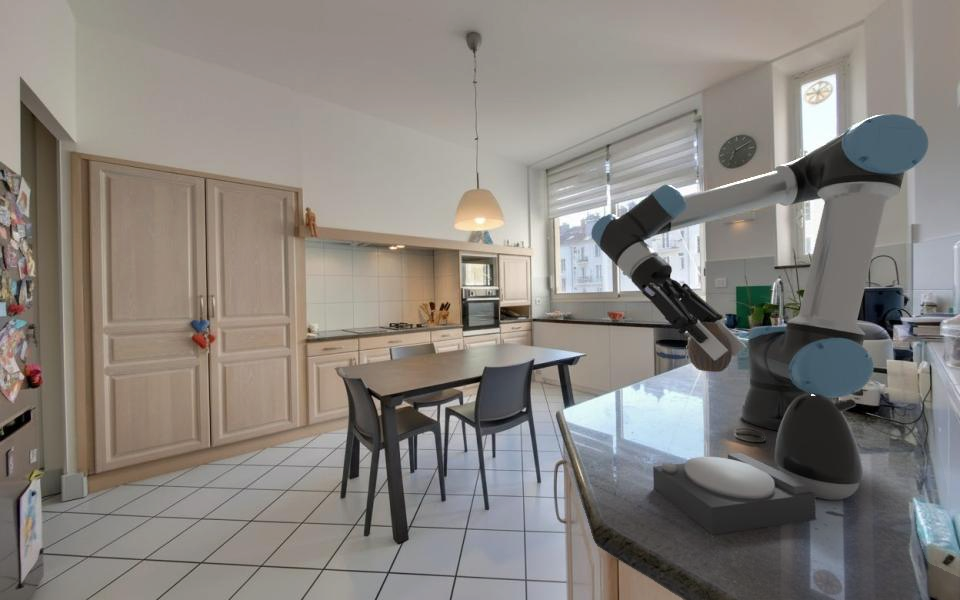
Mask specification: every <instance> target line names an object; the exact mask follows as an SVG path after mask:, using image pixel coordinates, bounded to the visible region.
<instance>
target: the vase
mask: <svg viewBox="0 0 960 600" xmlns="http://www.w3.org/2000/svg"><path fill="white" fill-rule="evenodd" d="M700 323H701V322H700ZM701 324H702V325H703V326H704V327H705V328H706V329H707V330H708V331H709V332H710V333H711V334H712V335H713V336H714V337H715V338H716V339H717V340H718V341H720V342H721V343H722V344H723V345H724V346H725V347H726V348H727V349H728V351H727V352H726V353H725V354H723V355H722V356H721V357H720V358H718V359H717V360H715V361H714V360H713V359H712V358H711V357H710V356H709V355H708V353H707V352H706V351H705V350H704V349H703V348H702V347H701V346H700V345H699V344H698V343H697V342H696V341H695V340H694V339H693V338H692V337H691V336H690V338H689V341H688V343H687V344H688V346H687V355H688V357H689V361H690V363H691V364H692V365H693V367H695V369H697V370H698V371H703V372H710V373H711V372H712V373H716V372H717V373H718V372H723V371H724V370H725V369H727V368H728V367H729V365H730V363H731V361H732V357H733V355H732V348H731V344H730V341H729V339H728V338H727V336H726V335H725V334H724V333H723V332H722V331H721V329H720V328H719V327H718V325H717V323H715V322H702V323H701Z"/></svg>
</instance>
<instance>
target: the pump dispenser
mask: <svg viewBox="0 0 960 600" xmlns="http://www.w3.org/2000/svg"><path fill="white" fill-rule="evenodd" d="M856 406H857V403H856V401H855V400H854V399H850V398H849V399H846V400H841V401H837V402H834V401H833V400H832V399H830V397H825V396H823V395H820V394H816V393H806V394H802V395H800V396H798V397H796V398H795V399H794V400H793V401H792V403H791V404H790V405H789V407H788V408H787V410H786V412H785V414H784V416H783V419H782V421H781V424H780V427H779V430H778V431H777V434H776V438H775V439H776V440H775V446H774V454H773V455H774V462H775V464H776V465H777V467H778V471H781V472H783V473H785V474H787V475H789V476H791V477H793V478H796V479H798V480H800V481H802V482H804V483H806V484H808V485H809V491H810V492H812V493H814V494H815V498H817V499H822V500H829V501H830V500H843V499H847V498H849V497H851V496H852V495H853V494H854V493H856V492H857V490H858V489H859V486H860V483H861V482H863V479H864V468H863V464H862V463H863V462H862V459H861V454H860V453H861V452H860V449H859V447H858V444H857V441H856V438H855V435H854V433H853V430H852V428H851V426H850V424H849V422H848V420H847V418H846V416H845V415H844V414H843V412H844V411H846V410H849V409H851V408H854V407H856Z"/></svg>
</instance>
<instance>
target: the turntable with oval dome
mask: <svg viewBox="0 0 960 600" xmlns="http://www.w3.org/2000/svg"><path fill="white" fill-rule="evenodd" d="M652 468H653V469H652V470H653V471H652V473H653V474H652V475H653V476H652V477H653V489H654V490H655V491H657V492H658V493H659V494H660V495H661V496H663V497H664V498H665V499H667V501H669V502H670V503H671V504H673V505H674V506H675V507H677V508H678V509H679V510H680V511H682V512H683V513H684V514H686V515H687V516H688V517H689V518H691V519H692V520H693V521H694V522H696V523H697V524H698V525H699V526H701V527H702V528H703V529H705V530H706V531H707V532H708V533H709V534H711V535H712V536H714V535H718V534H719V535H721V534H726V533H733V532H740V531H746V530H754V529H760V528H767V527H774V526H775V527H776V526H780V525H787V524H794V523H801V522H808V521H815V520H816V519H817V514H816V513H817V510H816V509H817V508H816V497H815V494H814V493H812V492H810V491H809V485H808V484H806V483H804V482H802V481H800V480H798V479H796V478H793V477H791V476H789V475H787V474H785V473H783V472H781V471H780V470H779V469H776V468H775V467H772V466H770V465H768V464H765V463H763V462H761V461H759V460H757V459H755V458H753V457H751V456H748V455H746V454H743V452H737V453H736V452H735V453H728V454H727V458H726V457H725V458H724V457H718V456H699V457H697V456H696V457H693V458H689V459H688V460H687V461H686V462H684V463H677V464H676V463H672V462H663V463H662V465H658V466H653V467H652Z"/></svg>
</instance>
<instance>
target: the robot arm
mask: <svg viewBox="0 0 960 600" xmlns="http://www.w3.org/2000/svg"><path fill="white" fill-rule="evenodd" d="M928 148H929V137H928V135H927V133H926V131H925V129H924V127H923V126H922V125H918V124H917V121H916V120H914V119H912V118H911V117H908V116H905V115H902V114H898V113H897V114H895V113H883V114H879V115H874V116H871V117H869V118H866V119H864V120H862V121H860V122H857V123H855V124H853V125H852V126H849V127H848V128H847V130H846V131H845V132H843V133H842V134H840V135H838V136H836V137H834V138H832V139H831V140H829V141H828V142H827V141H826V143H824V144H822V145H821V146H819V147H818V148H816V149H814V150H812V151H811V152H809V153H808V154H805V155H803V156H802V157H800V158H797V159H795V160H793V161H790V162H787V163H783V164H781V165H778V166H776V167H775V168H774V169H773V171H772V172H768V173H765V174H760V175H757V176H753V177H750V178H746V179H742V180H738V181H736V182H733V183H729V184H728V183H727V184H725V185H721V186H718V187H714V188H710V189H707V190H703V191H700V192H696V193H693V194H688V195H685V196H683V195H682V193H681V192H680V191H679V190H678V189H677V187H676V188H675V187H674V186H673V185H670V184H663V185H661V186H660V187H658V188H657V189H655V190H654V191H653V190H652V192H651V193H650V194H648V196H646V197H645V198H644V199H641V201H640V202H638V203H637V204H636V205H635V206H633V207H632V208H630V210H628V211H627V212H625V213H624V214H622V215H621V216H618V215H616V214H613V213H608V214H607V215H603V216H602V217H600V218H599V219H597V220H596V222H595V223H594V224H593V226H592V229H591V233H590V234H591V239H592V241H594V242H595V243H596V244H597V246H598V247H599V249H600V250H601V251H602V252H603V253H604V254H605V255H606V256H607V257H608V258H609V259H610V260H611V261H612V262H613V263H614V264H615V265H616V266H617V267H618V268H619V269H620V270H621V271H622V274H623V275H624V276H626V277H627V278H628V279H631V282H632V284H633V285H635V286H636V287H637V288H638V290H639V291H640V292H641V293H642V294H643V296H645V297H646V298H648V300H649V301H650V302H651V303H652V304H653V305H654V306H655V308H657V310H659V312H660V313H661V314H662V316H664V317H665V319H666V320H667V321H668V323H670V324H671V327H673V328H674V329H675V330H677V332H678V333H679V334H681V335H684V334H685V333H687V334H688V335H689V337H690V338H691V337H692V338H693V339H694V340H695V341H696V342H697V343H698V344H699V345H700V346H701V347H702V348H703V349H704V350H705V351H706V352H707V353H708V355H709V356H710V357H711V358H712V359H713V360H714V361H715V360H717V359H718V358H720V357H721V356H722V355H723V354H725V353H726V352H727V351H728V349H727V348H726V347H725V346H724V345H723V344H722V343H721V342H720V341H718V340H717V339H716V338H715V337H714V336H713V335H712V334H711V333H710V332H709V331H708V330H707V329H706V328H705V327H704V326H703V325H702V324H701V323H702V322H715V323H717V325H718V327H719V328H720V329H721V331H722V332H723V333H724V334H725V335H726V336H727V338H728V339H729V341H730V344H731V348H732V357H736V356H738V354H740V353H741V352H743V351H744V350H745V349H746V348H747V347H748V368H749V370H748V371H749V388H748V392H747V394H746V398H745V400H744V404H743V405H742V408H741V416H742V417H741V418H742V419H743V420H744V421H745V422H747V423H749V424H751V425H754V426H757V427H761V428H762V429H763V428H764V429H768V430H774V431H777V432H778V430H779V427H780V424H781V421H782V419H783V416H784V414H785V412H786V410H787V408H788V407H789V405H790V404H791V403H792V401H793V400H794V399H795V398H796V397H798V396H800V395H802V394H806V393H816V394H820V395H823V396H825V397H827V398H829V399H830V398H832V399H833V398H837V399H838V398H843V397H848V396H850V395H853V394H855V393H858V392H860V391H861V390H862V389H863V388H865V386H866V385H867V384H868V383H869V382H870V381H871V379H872V376H873V373H874V367H875V366H874V361H873V358H872V356H870V354H869V353H868V350H867V349H866V348H864V347H863V345H864V341H865V337H866V336H865V335H866V333H865V331H863V329H862V328H860V327H859V326H858V322H857V321H858V318H859V314H860V310H861V305H862V300H863V297H864V293H865V288H866V285H867V280H868V275H869V272H870V267H871V263H872V260H873V255H874V251H875V248H876V247H875V246H876V242H877V238H878V235H879V231H880V227H881V223H882V218H883V215H884V209H885V206H886V202H887V201H888V200H890V199H892V198H893V197H895V196H897V195H898V194H899V193H900V191H901V189H902V185H903V180H904V176H905V172H907V171H909V170H912V169H913V168H914V167H915V166H916V165H917V164H919V163H920V162H921V161H922V160H923V159H924V157H925V156H926V154H927V152H928ZM821 199H822V200H823V202H824V205H823V208H822V213H821V217H820V222H819V226H818V231H817V235H816V239H815V244H814V248H813V251H812V252H813V253H812V257H811V262H810V265H809V270H808V275H807V278H806V282H805V287H804V292H803V296H802V298H801V299H802V300H801V303H800V309H799V312H798V314H797V316H794V317H792V318H791V319H789V320H787V323H786V325H765V326H754V327H752V328H750V329H749V331H748V340H747V343H748V344H747V345H748V346H747V345H746V344H745V343H744V341H743V340H741V339H740V338H739V337H738V336H737V335H736V334H735V333H734V332H732V331H731V330H730V329H729V328H728V327H727V326H726V325H725V324H724V323H723V322H722V319H723V317H724V316H723V315H722V314H720V313H719V312H718V311H716V309H714V308H713V307H712V306H711V305H709V303H707V302H706V301H705V300H704V299H703V298H701V297H700V296H699V295H698V294H697V293H696V292H695V291H694V290H692V288H691V287H690V286H689V285H688V284H687V283H684V282H683V284H682V285H681V283H680V282H678V281H677V280H675V279H672V278H671V274H672V271H673V268H672V266H671V265H670V264H669V263H668V262H667V261H666V260H664V259H663V258H662V257H661V256H659V254H658V252H656V251H655V249H653V248H652V247H651V246H650V245H648V243H646V242H645V241H646V240H648V239H651V238H652V237H655V236H658V235H662V234H666V233H668V232H669V233H670V232H673V231H677V230H681V229H685V228H689V227H692V226H696V225H699V224H700V225H701V224H703V223H707V222H712V221H716V220H718V219H719V220H720V219H722V218H723V219H724V218H727V217H732V216H735V215H740V214H742V213H743V214H744V213H747V212H751V211H755V210H758V209H763V208H766V207H770V206H773V205H777V204H778V205H782V206H783V207H784V206H785V207H786V206H791V205H795V204H800V203H805V202H809V201H814V200H821ZM694 318H695V319H696V320H698V322H696V320H695V319H694Z"/></svg>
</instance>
